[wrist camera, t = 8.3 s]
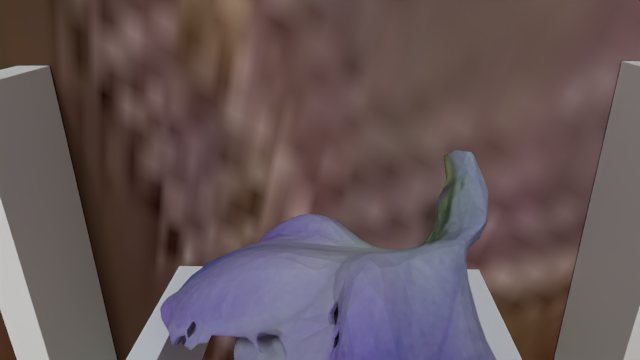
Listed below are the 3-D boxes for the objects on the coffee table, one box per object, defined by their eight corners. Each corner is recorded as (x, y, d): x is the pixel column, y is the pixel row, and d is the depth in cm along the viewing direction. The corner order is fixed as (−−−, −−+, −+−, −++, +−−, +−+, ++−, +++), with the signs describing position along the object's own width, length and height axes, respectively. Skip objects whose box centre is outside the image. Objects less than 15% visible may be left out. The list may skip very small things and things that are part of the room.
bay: (17, 66, 17) (-75, 88, 13) (658, 60, 16) (753, 84, 12) (99, 388, 23) (52, 466, 19) (571, 399, 22) (618, 483, 18)
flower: (429, 26, 7) (195, 724, 6) (664, 196, 11) (543, 607, 11) (216, 71, 15) (103, 382, 14) (406, 161, 19) (328, 399, 19)
